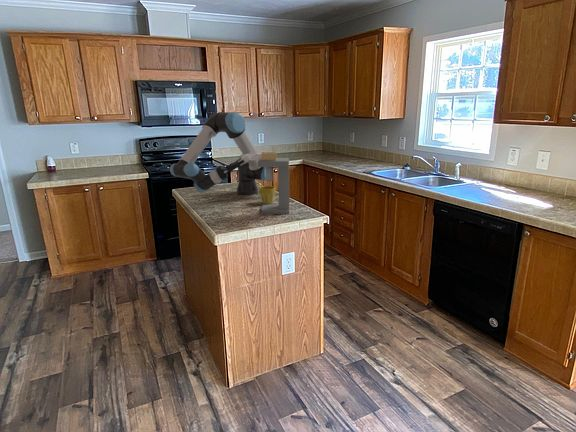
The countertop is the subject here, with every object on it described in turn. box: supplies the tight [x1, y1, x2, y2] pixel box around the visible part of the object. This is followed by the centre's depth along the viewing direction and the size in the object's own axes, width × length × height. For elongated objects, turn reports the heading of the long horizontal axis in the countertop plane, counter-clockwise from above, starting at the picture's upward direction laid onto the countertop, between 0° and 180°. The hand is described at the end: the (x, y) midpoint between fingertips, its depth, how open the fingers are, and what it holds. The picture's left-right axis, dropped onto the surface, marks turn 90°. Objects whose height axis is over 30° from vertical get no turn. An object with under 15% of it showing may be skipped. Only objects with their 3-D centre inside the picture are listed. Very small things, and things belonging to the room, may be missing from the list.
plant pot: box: [258, 185, 276, 205], centre depth 237 cm, size 10×10×10 cm
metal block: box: [240, 151, 278, 161], centre depth 211 cm, size 6×20×4 cm, turn 89°
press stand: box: [258, 157, 290, 215], centre depth 216 cm, size 12×17×30 cm
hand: (250, 155), depth 211 cm, fingers open, 13 cm apart
